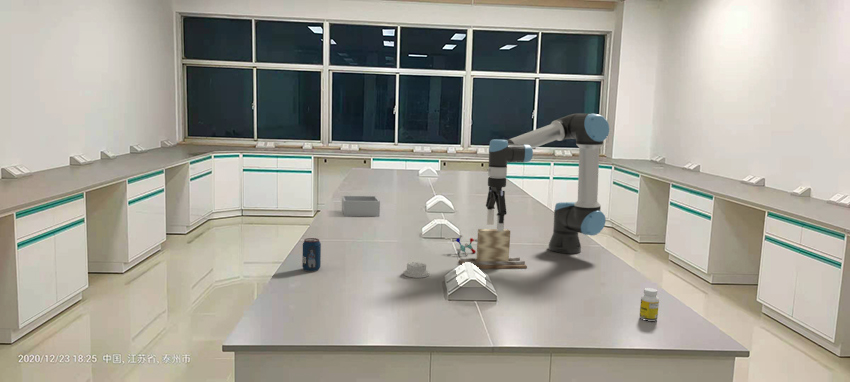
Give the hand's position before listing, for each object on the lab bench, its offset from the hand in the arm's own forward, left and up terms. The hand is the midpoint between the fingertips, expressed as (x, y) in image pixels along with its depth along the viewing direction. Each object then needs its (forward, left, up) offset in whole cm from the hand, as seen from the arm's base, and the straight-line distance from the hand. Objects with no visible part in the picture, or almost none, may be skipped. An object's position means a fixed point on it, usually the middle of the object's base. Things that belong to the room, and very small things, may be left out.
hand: (495, 227), depth 256 cm
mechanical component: (+35, +13, -16) cm, 41 cm away
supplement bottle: (-30, +70, -16) cm, 78 cm away
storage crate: (+44, -126, -16) cm, 134 cm away
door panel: (0, 0, -15) cm, 15 cm away
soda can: (+75, +4, -16) cm, 77 cm away
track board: (0, 0, -16) cm, 16 cm away
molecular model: (+7, -21, -16) cm, 27 cm away
